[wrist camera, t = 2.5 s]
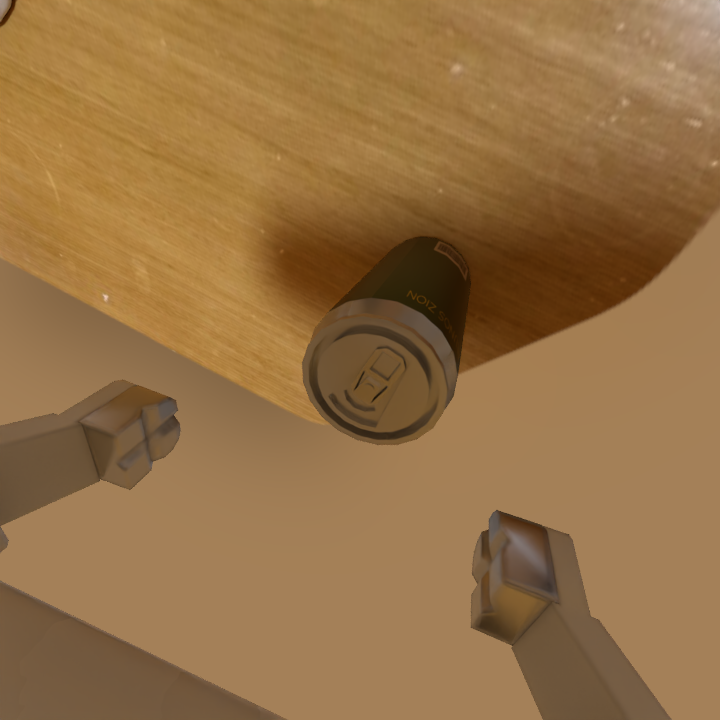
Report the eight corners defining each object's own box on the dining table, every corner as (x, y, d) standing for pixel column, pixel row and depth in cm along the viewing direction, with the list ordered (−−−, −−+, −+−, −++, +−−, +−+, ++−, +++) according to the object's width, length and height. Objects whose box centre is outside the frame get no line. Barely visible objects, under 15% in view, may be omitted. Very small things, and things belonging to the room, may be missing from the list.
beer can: (412, 215, 20) (337, 273, 10) (491, 268, 21) (494, 378, 11) (366, 291, 23) (274, 393, 13) (435, 337, 23) (395, 473, 14)
